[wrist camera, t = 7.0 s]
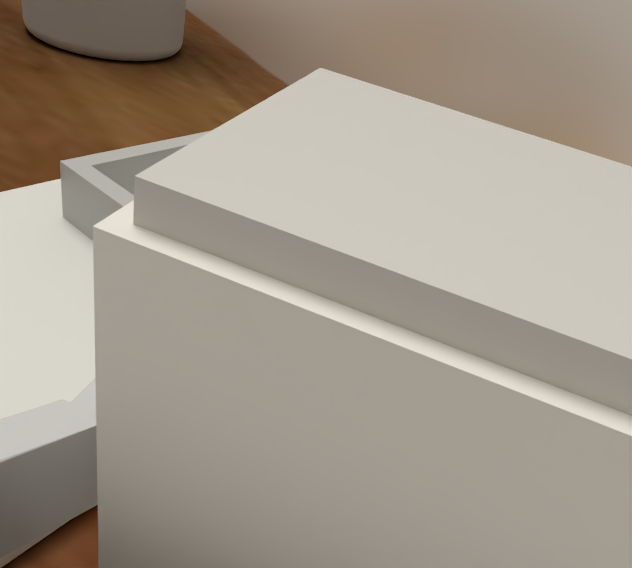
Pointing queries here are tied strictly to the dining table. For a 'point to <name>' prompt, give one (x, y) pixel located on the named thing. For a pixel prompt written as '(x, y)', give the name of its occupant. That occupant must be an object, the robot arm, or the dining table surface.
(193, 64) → the dining table surface
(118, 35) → the cylinder vase
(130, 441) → the block
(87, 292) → the plate
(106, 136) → the dining table surface
